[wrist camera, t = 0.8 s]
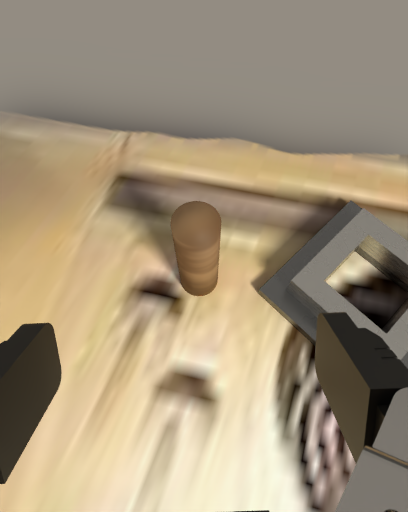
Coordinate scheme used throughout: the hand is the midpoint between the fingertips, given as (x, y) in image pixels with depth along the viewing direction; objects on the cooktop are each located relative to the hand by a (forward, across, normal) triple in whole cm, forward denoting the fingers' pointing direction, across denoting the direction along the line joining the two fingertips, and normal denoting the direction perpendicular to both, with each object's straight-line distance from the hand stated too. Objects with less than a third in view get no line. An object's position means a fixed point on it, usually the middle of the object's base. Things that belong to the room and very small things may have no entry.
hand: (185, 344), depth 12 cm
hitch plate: (+23, -15, +9) cm, 29 cm away
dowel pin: (+24, 0, +8) cm, 26 cm away
